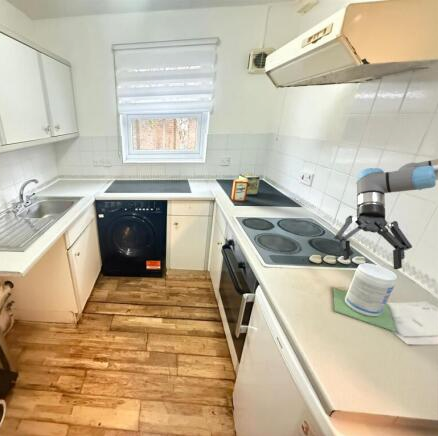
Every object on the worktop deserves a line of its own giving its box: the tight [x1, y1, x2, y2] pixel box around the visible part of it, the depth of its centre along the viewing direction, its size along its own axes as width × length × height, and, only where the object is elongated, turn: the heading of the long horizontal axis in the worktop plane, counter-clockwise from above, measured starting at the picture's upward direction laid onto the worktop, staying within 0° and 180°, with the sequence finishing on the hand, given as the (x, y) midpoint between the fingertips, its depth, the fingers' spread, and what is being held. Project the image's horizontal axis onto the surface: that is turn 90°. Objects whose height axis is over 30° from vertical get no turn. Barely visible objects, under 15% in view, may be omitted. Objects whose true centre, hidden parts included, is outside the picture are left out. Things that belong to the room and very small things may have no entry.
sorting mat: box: [333, 287, 397, 333], centre depth 81 cm, size 15×14×1 cm
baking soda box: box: [230, 178, 248, 202], centre depth 185 cm, size 10×6×16 cm
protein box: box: [238, 173, 261, 197], centre depth 202 cm, size 10×16×16 cm
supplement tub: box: [345, 262, 398, 316], centre depth 78 cm, size 10×10×15 cm
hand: (371, 263), depth 80 cm, fingers open, 13 cm apart
